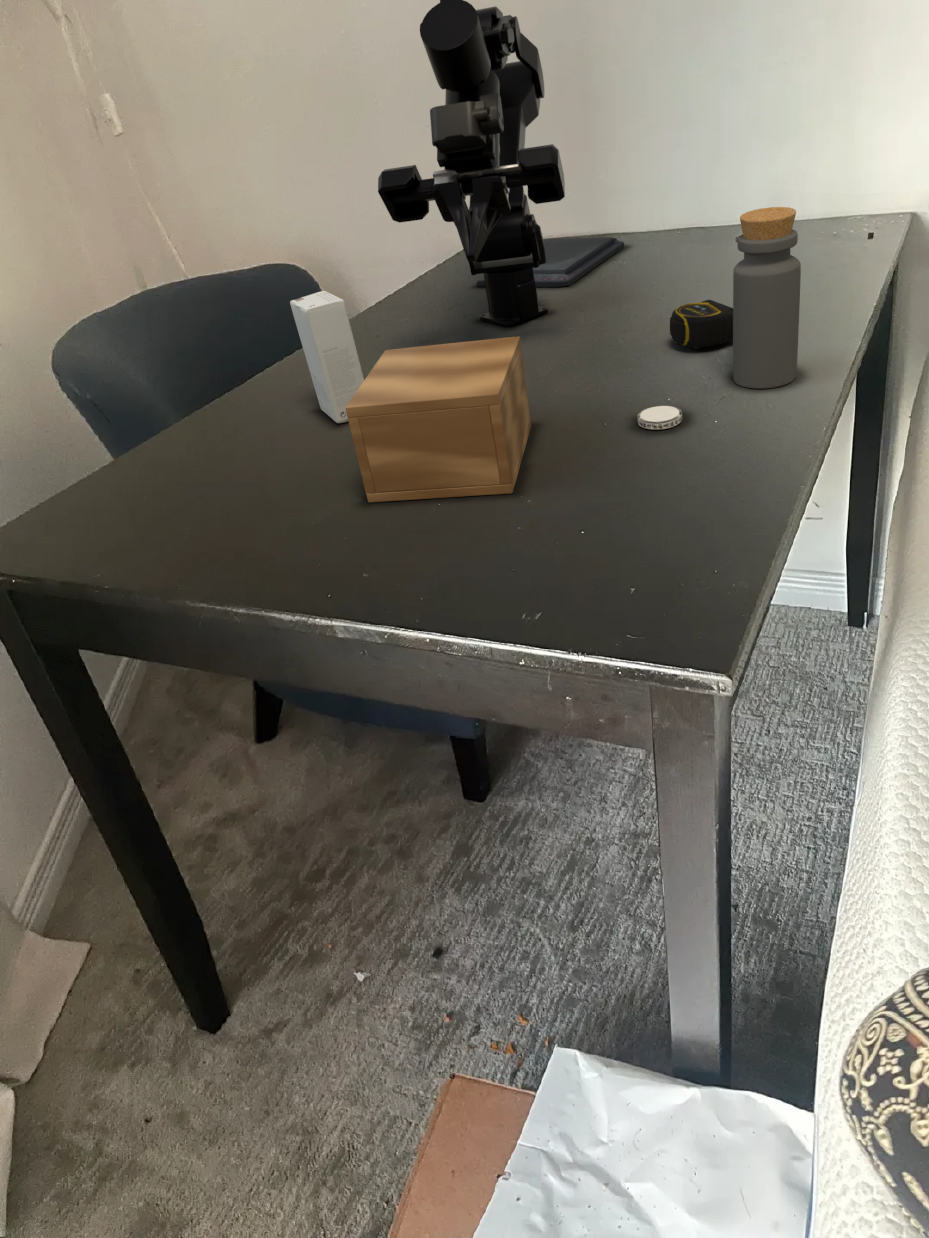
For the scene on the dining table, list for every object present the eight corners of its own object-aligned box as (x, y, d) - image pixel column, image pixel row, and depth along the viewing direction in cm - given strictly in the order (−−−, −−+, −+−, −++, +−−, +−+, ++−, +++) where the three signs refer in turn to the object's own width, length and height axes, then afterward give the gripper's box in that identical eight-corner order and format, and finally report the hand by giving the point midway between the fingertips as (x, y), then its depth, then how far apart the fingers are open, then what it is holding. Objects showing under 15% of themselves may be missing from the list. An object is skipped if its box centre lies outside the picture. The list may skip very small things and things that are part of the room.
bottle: (725, 373, 93) (724, 213, 85) (783, 362, 93) (788, 201, 85) (744, 393, 88) (745, 226, 80) (806, 382, 88) (814, 213, 80)
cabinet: (403, 437, 93) (385, 350, 88) (531, 426, 90) (520, 336, 85) (367, 503, 82) (344, 407, 77) (512, 493, 79) (498, 394, 74)
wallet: (565, 273, 126) (471, 273, 134) (566, 288, 127) (473, 287, 135) (629, 232, 139) (539, 234, 147) (630, 246, 140) (541, 247, 148)
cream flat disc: (635, 430, 85) (634, 423, 85) (640, 412, 88) (639, 406, 88) (680, 428, 84) (680, 421, 83) (683, 410, 87) (683, 404, 87)
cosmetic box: (374, 413, 99) (348, 298, 93) (335, 426, 98) (305, 310, 91) (354, 398, 104) (328, 287, 97) (316, 410, 103) (287, 299, 96)
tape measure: (748, 343, 99) (749, 307, 97) (690, 359, 98) (689, 323, 96) (715, 328, 104) (714, 294, 102) (659, 343, 103) (657, 308, 101)
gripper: (362, 82, 93) (357, 226, 90) (549, 50, 89) (550, 199, 86) (396, 155, 104) (392, 285, 101) (564, 129, 99) (566, 264, 97)
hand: (471, 259), depth 96 cm, fingers closed
